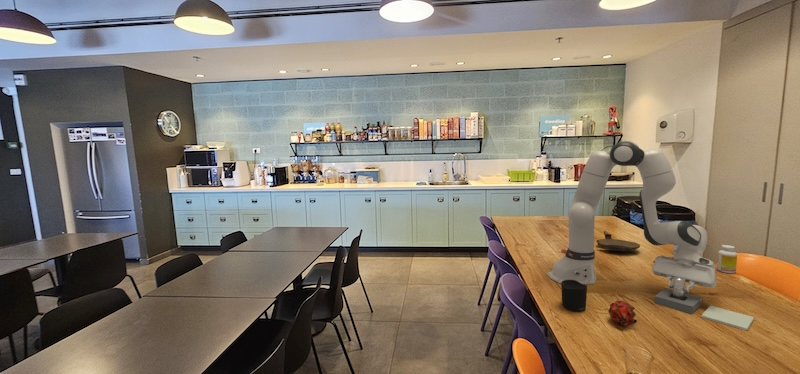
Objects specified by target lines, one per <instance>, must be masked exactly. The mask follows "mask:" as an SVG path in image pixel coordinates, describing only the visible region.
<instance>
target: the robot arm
mask: <svg viewBox="0 0 800 374" xmlns="http://www.w3.org/2000/svg"><path fill="white" fill-rule="evenodd" d="M615 166H620V167H633V166H634V167H636V168H637V170H638V172H639V174H640V177H641V180H642V189H641V190H640V191H639V203H640V209H641V214H642V215H641V216H642V221H643V237H644V239H645V240H646V241H647V242H648V243H649V244H651V245H653V246H655V247H657V246H664V245H665V246H666V245H674V244H676V245H677V246H678V248H677V249H676V252H675V254H673V256H664V255H659V256H656V257H655V260H654V261H655V263H653V266H652V268H651V272H652V273H653V275H655V276H658V277H664V278H667V281H668V285H667V288H668V289H673V277H675V276H678V277H682V278H685V283H688V285H685V286H684V289H683V290H684V293H687V294H690V290H691V289H693V288H694V287H695V286H702V287H706V288H709V289H714V288H715V287H716V285H717V274H716V265H715V262H714V261H712V260H710V259H708V258H705V257H704V255H703V253H704V252H705V251H706V248H707V245H708V231H707V230H706V229H705V228H704V227H702V226H700V225H697V224H692V223H691V222H689V221H687V220H675V221H674V220H673V221H665V222H660V220H659V218H658V213H657V208H656V207H657V206H656V205H657V201H658V200H659V199H660V198H662V197H663V196H665V195H667V194H668V193H670V192H671V191H672V190H673V189H674V188H675V186H676V184H677V183H676V182H677V181H676V176H675V173H674V170H673V168H672V165H671V163H670V161H669V159H668V158H667V156H666V154H665V153H664V151H662V150H660V149H657V148H655V149H654V148H653V149H647V150H643V149H642V148H641V147H639V145H638V144H637V143H635V142H633V141H631V140H623V141H619V142H618V143H615V144H614V145H613V146H612V147H611V149H610V150H608V151H604V150H597V151H594V152H592V153H591V154H590V156H589V158H588V159H587V162H586V163H585V166H584V167H583V170H582V172H581V176H580V179H579V181H578V184H577V187H576V190H575V193H574V196H573V197H572V198H573V199H572V202H571V203H570V205H569V206H570V207H569V209H568V216H567V217H568V248H567V250H566V249H565V248H562V249H561V250H560V252H561V253H562V254H564V256H563V257H561V258H560V259H558V260H557V261H555V262H554V263H553V264H552V265H553V266H552V270H551V271H547V277H548V278H549V279H551V280H552V281H553V282H556V283H559V284H561V282H562V281H564V280H576V281H578V282H580V283H581V284H583V285H595V282H596V281H597V279H598V278H597V274H596V269H595V258H596V252H595V224H596V223H595V221H596V220H595V219H596V217H595V215H596V210H597V208H598V205H599V203H600V200H601V197H602V196H603V193H604V190H605V188H606V186H607V183H608V180H609V178H610V174H611V172H612V170H613V169H614V168H615ZM672 257H674V258H672Z"/></svg>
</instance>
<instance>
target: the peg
mask: <svg viewBox="0 0 800 374" xmlns="http://www.w3.org/2000/svg"><path fill="white" fill-rule="evenodd" d="M672 283H673V288H672V290H673V295H672V298H675V299H679V300H683V301H684V293H685V291H684V290H683V289H684V286H686V282H685V278H682V277H678V276H675V277H673V279H672Z"/></svg>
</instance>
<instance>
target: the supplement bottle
mask: <svg viewBox="0 0 800 374" xmlns="http://www.w3.org/2000/svg"><path fill="white" fill-rule="evenodd" d="M720 247H721V250H718V253H717V254H718V255H717V267H716V268H717V269H716V270H718V271H719V272H721V273H726V274H735V273H736V272H737V261H738V253H737V252H736V251H735V250H736V247H735V246H733V245H728V244H721V246H720Z"/></svg>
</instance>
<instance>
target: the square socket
mask: <svg viewBox="0 0 800 374" xmlns="http://www.w3.org/2000/svg"><path fill="white" fill-rule="evenodd" d="M672 295H673V289H672V288H668V287H667V288H666V287H665V288H664V289H662V290H661V291H660V292H658V293H657V294H656V295H655V296H654V304H656V305H660V306H663V307H667V308H670V309H674V310H677V311H680V312H684V313H688V314H691V315H693V314H694V313H695V312H696V311H697V310H698V309H699V308H700V306H701V305H702V302H703V300H702V299H703V297H701V296H698V295H694V294H690V293H687V292H684V301H683V300H679V299H675V298H672Z"/></svg>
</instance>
